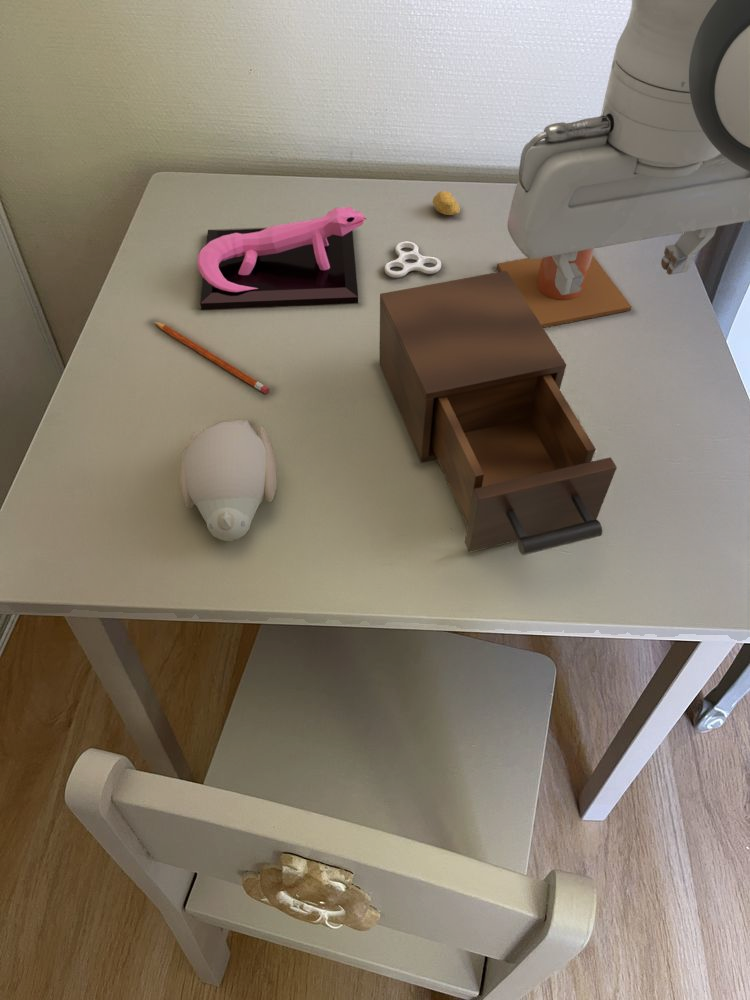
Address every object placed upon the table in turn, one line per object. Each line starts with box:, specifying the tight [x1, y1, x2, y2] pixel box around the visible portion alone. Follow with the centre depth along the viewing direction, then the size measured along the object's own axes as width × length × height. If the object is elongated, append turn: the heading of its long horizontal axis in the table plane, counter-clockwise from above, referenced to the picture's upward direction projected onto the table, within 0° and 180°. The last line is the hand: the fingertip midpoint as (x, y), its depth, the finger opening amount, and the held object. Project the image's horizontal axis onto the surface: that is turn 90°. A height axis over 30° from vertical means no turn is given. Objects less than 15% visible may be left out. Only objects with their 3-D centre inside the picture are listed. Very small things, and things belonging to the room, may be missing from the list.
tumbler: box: [536, 248, 595, 300], centre depth 88 cm, size 6×6×11 cm
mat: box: [496, 254, 632, 329], centre depth 93 cm, size 12×12×1 cm
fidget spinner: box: [384, 240, 442, 279], centre depth 96 cm, size 7×6×1 cm
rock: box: [432, 190, 461, 216], centre depth 102 cm, size 4×4×3 cm
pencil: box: [154, 321, 270, 395], centre depth 86 cm, size 1×18×1 cm, turn 51°
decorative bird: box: [178, 419, 278, 542], centre depth 72 cm, size 9×16×8 cm, turn 9°
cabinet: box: [378, 271, 567, 464], centre depth 78 cm, size 15×14×10 cm
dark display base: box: [196, 206, 367, 311], centre depth 92 cm, size 15×20×7 cm
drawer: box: [430, 374, 617, 556], centre depth 70 cm, size 18×12×8 cm
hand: (620, 279), depth 63 cm, fingers open, 8 cm apart
